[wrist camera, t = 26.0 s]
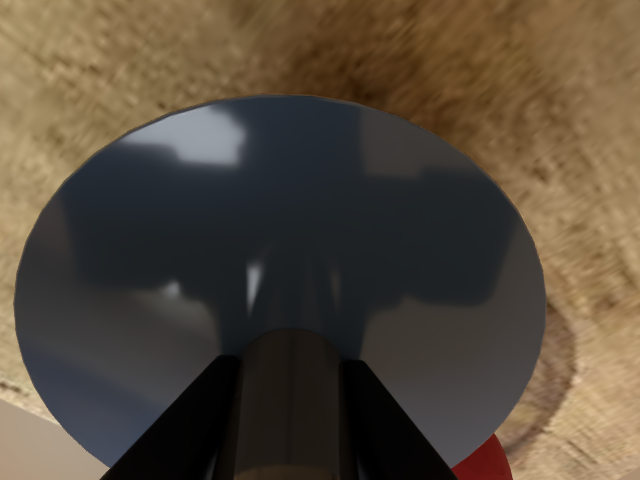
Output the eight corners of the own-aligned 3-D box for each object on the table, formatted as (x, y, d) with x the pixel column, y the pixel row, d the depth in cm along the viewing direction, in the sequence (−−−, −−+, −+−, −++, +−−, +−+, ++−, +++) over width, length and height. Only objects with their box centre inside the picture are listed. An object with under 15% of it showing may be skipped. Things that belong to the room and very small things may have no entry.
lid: (-72, 201, 7) (-1039, 506, 2) (495, -2, 6) (1522, -455, 1) (188, 512, 12) (100, 840, 7) (532, 427, 11) (739, 738, 6)
